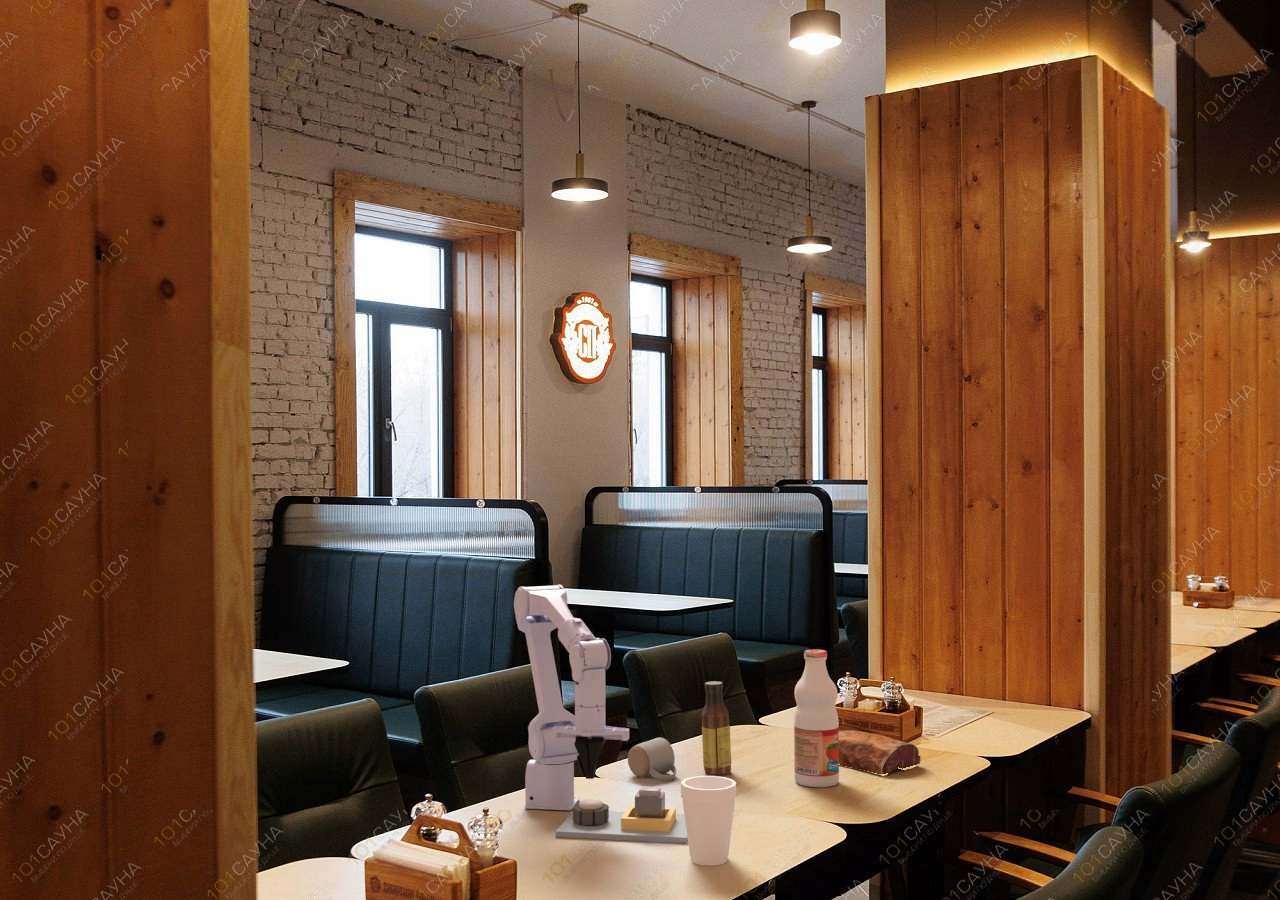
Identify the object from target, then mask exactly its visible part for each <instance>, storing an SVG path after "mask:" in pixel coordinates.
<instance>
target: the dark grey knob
mask: <svg viewBox="0 0 1280 900" xmlns="http://www.w3.org/2000/svg"><path fill="white" fill-rule="evenodd" d="M609 808H610V806H609V804H605V803H603V801H602V800H601V799H594V798H593V799H591V798H590V799H583V800H579V801H578V803H576V805H575V806H574V807H573V808H572V811H573V822H576V823H578V824H582V825H593V824H595V825H598V824H602V823H605V822H607V821H608V819H609V811H610V810H609Z"/></svg>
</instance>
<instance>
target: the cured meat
mask: <svg viewBox="0 0 1280 900" xmlns="http://www.w3.org/2000/svg"><path fill="white" fill-rule="evenodd" d="M838 734H839V764H840V765H843V766H842V767H844V766H847V767H846V768H848V767H852V768H856V769H855V770H857V769H861V770H865V771H869V772H873V773H877V774H886V773H889V774H890V773H891V772H893V771H895V770H898V769H897V768H898V767H899V768H902V769H903V768H906V767H910V766H913V765H917V764H919V765H920V764H921V756H920V755H919V749H918V747H917V746H916V745H915V744H913V743H909V742H905V741H901V740H898V739H895V738H892V737H889V736H886V735H882V734H879V733H878V734H877V733H870V732H866V731H865V732H864V731H860V730H843V729H842V730H838ZM840 765H839V766H840ZM852 768H851V769H852ZM861 770H860V771H861ZM865 771H864V772H865ZM869 772H868V773H869Z"/></svg>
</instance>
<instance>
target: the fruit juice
mask: <svg viewBox="0 0 1280 900" xmlns="http://www.w3.org/2000/svg"><path fill="white" fill-rule="evenodd" d="M803 658H804V661H805V666H804V670H803V672H802V675H801V678H800V679H799V680H798V681H797V683H796V685H795V687H794V692H793V693H794V699H795V702H796V708H795V710H794V715H793V717H794V718H793V735H794V736H793V737H794V738H793V739H794V740H793V741H794V745H793V748H794V749H793V750H794V751H793V752H794V758H793V759H794V762H793V763H794V780H795V782H796V783H797V784H798V785H800V786H803V787H808V788H829V786H830V787H834V786H837V784H839V781H840V780H839V779H840V765H839V734H838V731H839V726H840V725H839V715H838V711H837V709H836V703H837V701H838V689H837V685H836V684H835V683H834V682H833V680H832V679H831V677H830V675H829V673H828V670H827V668H828V667H827V665H826V663H827V661H826V660H827V658H828V652H827V650H825V649H806V650H804V652H803Z"/></svg>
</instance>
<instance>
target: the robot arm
mask: <svg viewBox="0 0 1280 900" xmlns="http://www.w3.org/2000/svg"><path fill="white" fill-rule="evenodd" d="M513 609H514V615H515V621H516V624H517V628H518V630H519V631H521V632H522V633H524V634H525V639H526V646H527V650H528V656H529V661H530V667H531V673H532V679H533V684H534V690H535V696H536V702H537V707H538V714H536V716H535V717H534V718H532V720H531V721H530V722H529V724H528V726H527V730H528V750H529V753H530V755H531V758H533V759H529V760H528V761H527V763H526V768H525V777H524V779H525V780H524V781H525V784H524V785H525V786H524V787H525V788H524V789H525V793H524V794H525V795H524V796H525V799H524V800H525V805H524V809H527V810H529V809H530V810H552V811H571V810H572V811H573V807H574V806H575V805H577V804H578V803H579V802H580V800H579V799H580V797H577V796H575V761H577V760H578V756H579V759H580V760H581V763H582V765H583V766H582V767H583V770H584V774H585V775H584V776H585V779H587V780H588V779H589V780H590V779H591V780H593V779H595V777H596V772H597V767H598V762H599V759H600V756H601V754H602V751H603V748H604V746H605V744H606V742H607V740H615V741H616V740H620V741H623V742H625V741H626V742H628V740H629V739H630V728H626V727H619V726H618V727H617V726H609V725H606V670H608V669H609V668H610V666H611V660H612V654H611V648H610V645H609V643H608V641H607V640H606V639H605V638H600V637H595V636H594V634H593V632H591V630H590V629H589V628H588V626H587V625H586V624H585V622H584V621H583V620H582V619H581V618H577V617H574V616H573V614H572V612H571V610H570V609H569V606H568V594H567V591H566V589H565V588H564V586H563V585H562V584H556V585H541V586H540V585H539V586H519V587H518V588H517V590H516V591H515V594H514V600H513ZM555 629H558V630H557V637H558V640H559V641H560V642H561V644H562V646H564V648H565V650H567V652H568V653H569V654H568V657H569V664H570V668H571V677H572V680H573V681H574V714H573V713H571V711H568V710H567V709H565V708H564V704H563V699H562V694H561V688H560V682H559V678H558V673H557V667H556V661H555V660H556V659H555V654H554V650H553V646H552V640H551V639H552V638H551V632H552V631H554V630H555Z"/></svg>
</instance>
